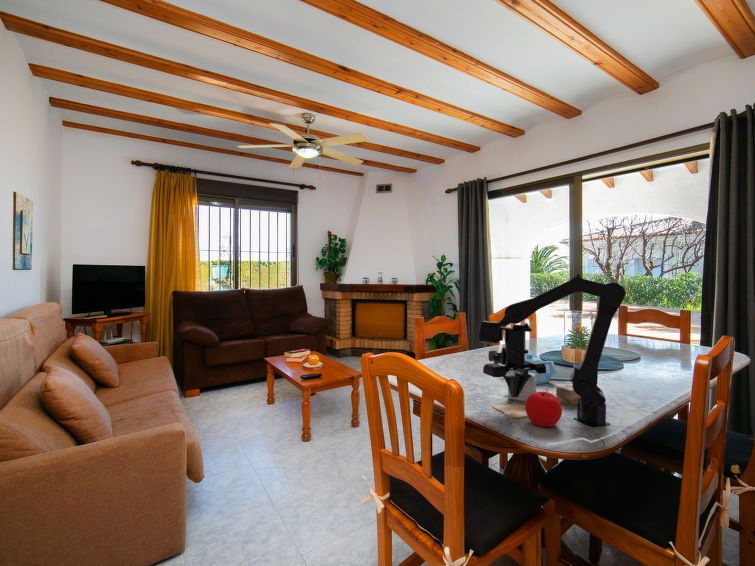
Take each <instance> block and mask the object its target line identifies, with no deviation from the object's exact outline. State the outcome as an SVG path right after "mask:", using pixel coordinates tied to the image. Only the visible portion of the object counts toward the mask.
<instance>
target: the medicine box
mask: <svg viewBox="0 0 755 566" xmlns="http://www.w3.org/2000/svg"><path fill="white" fill-rule="evenodd" d="M529 374H530V375H532V377H530V378H529V379H528V381H527V382H526V384H525V385H524V387H523V389H522V390H521V392H520V394H519V396H518V397H515V398H513V397H511V394H510V391H509V388H508V387H507V395H508V398H507V399H509V400H511V399H513V400H519V401H525V402H526V400H527V398H528V397H529V395H531V394H532V393H535V392H537V384H536V374H534V373H529ZM513 400H512V401H513Z"/></svg>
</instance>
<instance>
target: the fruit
mask: <svg viewBox="0 0 755 566" xmlns="http://www.w3.org/2000/svg"><path fill="white" fill-rule="evenodd" d="M548 391H549V388H546V391H536V392H535V393H532V394H531V395H529V397H528V398H527V400H526V403H525V410H526V413H527V416H528V417H527V418H528V419H529V421H530V422H531V423H532V424H534V425H535V426H538V427H540V428H548V427H549V428H551V427H554V426H556V424H557V423H558V422H559V421H560V420H561V418H562V414H563V408H562V403H560V402H559V400H558V399H557V397H556V394H553V393H550V392H548Z"/></svg>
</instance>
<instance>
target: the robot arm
mask: <svg viewBox="0 0 755 566" xmlns="http://www.w3.org/2000/svg"><path fill="white" fill-rule="evenodd" d="M577 292H581V293H585V294H589V295H592V296H596V311H595V312H596V314H595V317H594V320H593V324H592V327H591V331H590V334H589V337H588V341H587V344H586V346H585V347H586V348H585V350H584V355H583V358H582V360H581V362H579V365H578V364H577V363H573V365H572V366H573V367H572V372H571V374H570V375H569V379H570V382H571V383H572V384H571V386H573V390H574V391H575V393H576V394H578V395H579V396H580V397H581V398H578V403H577V405H576V412H577V413H576V417H573V420H575V421H577V422H579V423H580V424H583V425H586V426H588V427H590V428H592V429H593V428H594V429H595V428H600V427H601V428H602V427H608V426H611V423H609V422H607V403H606V402H607V399H606V397H605V394H604V392H603V390H602V389H601V388H600V387H599V386H598V379H599V378H598V377H599V376H598V375H599V371H598V370H599V364H600V360H601V359H602V354H603V350H604V348H605V344H606V340H607V337H608V333H609V330H610V327H611V324H612V320H613V318H614V316H615V315H616V313H617V312H618V310H619V309H620V307H621V305H622V303H623V301H624V299H625V298H626V293H627V292H626V290H625V288H624V286H622V284H620V283H617V282H605V283H601V282H597V281H593V280H589V279H586V278H585V279H584V278H582V277H580V276H574V277H571V279H569V280H568V281H565V282H564V283H561V284H560V285H557V286H555V287H553V288H551V289H549V290H546V291H545V292H543V293H540V294H537V296H535V297H532V298H529V299H524V300H521V301H519V302H515V303H511V304H509V305H508V306H506V307H505V310H504V316H503V317H502V319H500V320H499V321H497V322H496V321H488V320H481V322H480V329H479V332H478V338H479V339H478V340H479V343H483V344H494V345H500V342H504V340H505V343H504V345H505V346H504V347H502V348H501V352H497V350H488V360H489V362H492V363H485V364H484V365H483V368H482V370H483V371H482V373H483V374H485V375H487V376H490V377H492V378H503V379H504V380H505V382H506V385H507V389H508V388H509V391H510V394H511V397H513V398H515V397H518V396H519V394H520V392H521V390H522V389H523V387H524V385H525V384H526V382H527V381H528V379H529V378H530V377H532V375H530V374H529V372H528V371H530V370H536V372H537V373H538V374H543V373H546V368H547V367H546V366H547V365H545V364H544V363H541V362H537V361H534V360H533V361H525V356H526V354H527V353H529V349H526V332H527V333H528V332H529V333H530V332H533V327H531V326H530V325H529V323H528V322H525V323H524V324H520V323H522V322H523V321H525V320H526V319H528V318H529V317H530V316H532V315H533V314H534V313H536V312H537V311H538V310H540V309H542V308H545V307H546V306H549V305H551V304H553V303H555V302H557V301H559V300H561V299H564V298H566V297H569V296H570V295H572V294H574V293H577ZM511 324H513V325H512V327H510V326H509V325H511ZM507 326H509V327H507ZM504 332H505V333H504ZM504 337H505V338H504ZM512 368H513V369H512Z"/></svg>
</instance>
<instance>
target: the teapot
mask: <svg viewBox="0 0 755 566" xmlns="http://www.w3.org/2000/svg"><path fill="white" fill-rule="evenodd" d="M533 360H534V361H537V362H541V363H544V364H545V366H548V368H549V372H548V369H547V367H546V373H543V374H538V373H537V372H536V370H530V371H528V372H529V373H534V374H536V385H541V384H546V383H548V382H549V380H550V379H551V378H552V377H554V376H555V375H557V374H558V372H557V369H556V366H555V363H554V360H546V361H543V360H542V358H539V357H538V355H534V354H533V353H529V352H528V353H527V354H525V361H533ZM512 369H513V368H512Z"/></svg>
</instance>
